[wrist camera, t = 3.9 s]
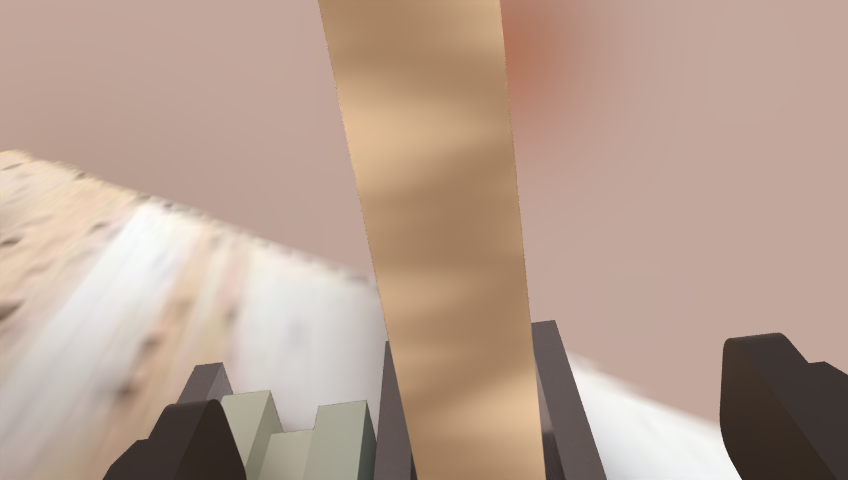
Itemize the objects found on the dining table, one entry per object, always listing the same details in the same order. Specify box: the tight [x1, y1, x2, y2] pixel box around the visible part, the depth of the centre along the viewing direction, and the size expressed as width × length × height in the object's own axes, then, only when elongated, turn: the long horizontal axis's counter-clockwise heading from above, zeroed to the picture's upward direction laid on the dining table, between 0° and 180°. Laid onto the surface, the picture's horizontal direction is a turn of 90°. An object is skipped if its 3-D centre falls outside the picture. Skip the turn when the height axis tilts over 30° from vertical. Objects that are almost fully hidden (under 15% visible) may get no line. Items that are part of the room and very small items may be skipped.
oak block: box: [318, 0, 546, 480], centre depth 15 cm, size 2×6×20 cm, turn 0°
